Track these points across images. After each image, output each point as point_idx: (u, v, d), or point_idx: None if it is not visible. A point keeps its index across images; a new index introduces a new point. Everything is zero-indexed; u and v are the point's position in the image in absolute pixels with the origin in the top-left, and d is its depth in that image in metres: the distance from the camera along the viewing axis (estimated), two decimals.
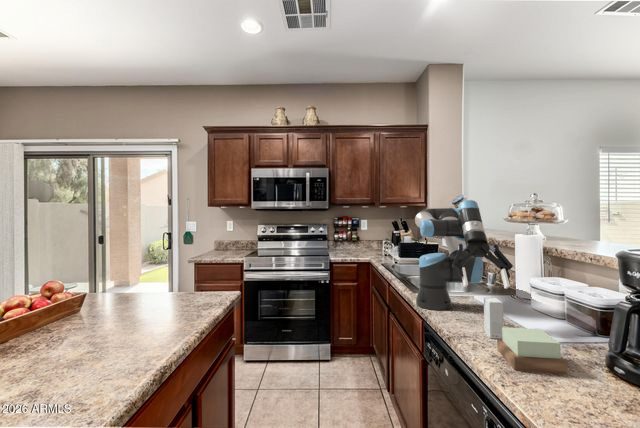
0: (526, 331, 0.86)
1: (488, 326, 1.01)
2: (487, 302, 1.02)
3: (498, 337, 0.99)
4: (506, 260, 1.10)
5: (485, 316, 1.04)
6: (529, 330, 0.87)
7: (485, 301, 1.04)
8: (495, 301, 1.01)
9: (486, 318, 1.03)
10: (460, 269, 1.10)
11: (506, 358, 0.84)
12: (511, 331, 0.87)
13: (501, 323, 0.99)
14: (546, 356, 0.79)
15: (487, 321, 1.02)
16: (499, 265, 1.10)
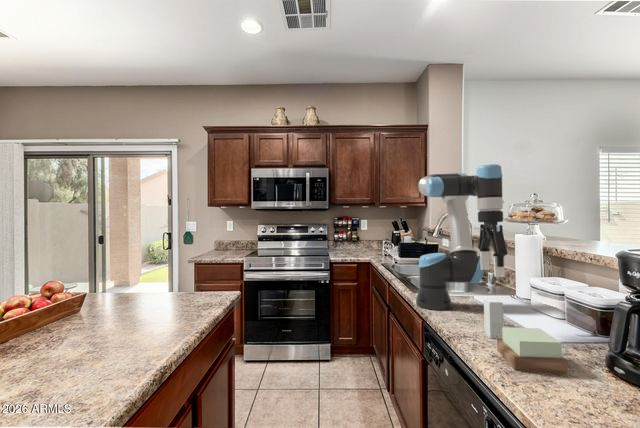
0: (526, 330, 0.86)
1: (488, 326, 1.01)
2: (487, 302, 1.02)
3: (498, 337, 0.99)
4: None
5: (485, 316, 1.04)
6: (529, 330, 0.87)
7: (485, 301, 1.04)
8: (495, 301, 1.01)
9: (486, 318, 1.03)
10: None
11: (506, 357, 0.84)
12: (512, 331, 0.86)
13: (501, 323, 0.99)
14: (547, 356, 0.78)
15: (487, 321, 1.02)
16: (486, 247, 1.09)
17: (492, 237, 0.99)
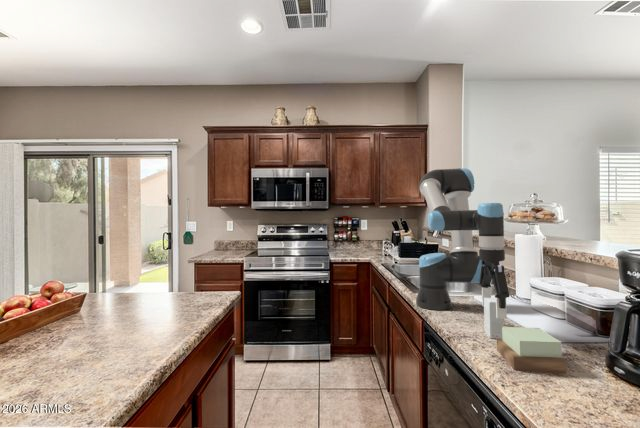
0: (526, 330, 0.87)
1: (488, 326, 1.01)
2: (487, 302, 1.02)
3: (498, 337, 0.99)
4: None
5: (485, 316, 1.04)
6: (529, 329, 0.87)
7: (485, 301, 1.04)
8: (495, 301, 1.01)
9: (486, 318, 1.03)
10: None
11: (505, 357, 0.85)
12: (512, 330, 0.87)
13: (501, 323, 0.99)
14: (547, 355, 0.79)
15: (487, 321, 1.02)
16: (487, 283, 1.08)
17: (494, 277, 0.98)
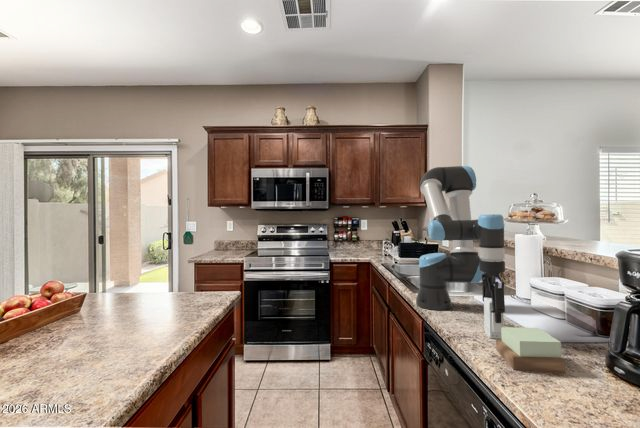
0: (525, 330, 0.87)
1: (488, 326, 1.01)
2: (487, 302, 1.02)
3: (498, 337, 0.99)
4: None
5: (485, 316, 1.04)
6: (528, 329, 0.87)
7: (485, 301, 1.04)
8: None
9: (486, 318, 1.03)
10: None
11: (505, 357, 0.85)
12: (511, 331, 0.87)
13: None
14: (547, 355, 0.79)
15: (487, 321, 1.02)
16: None
17: (493, 290, 1.00)
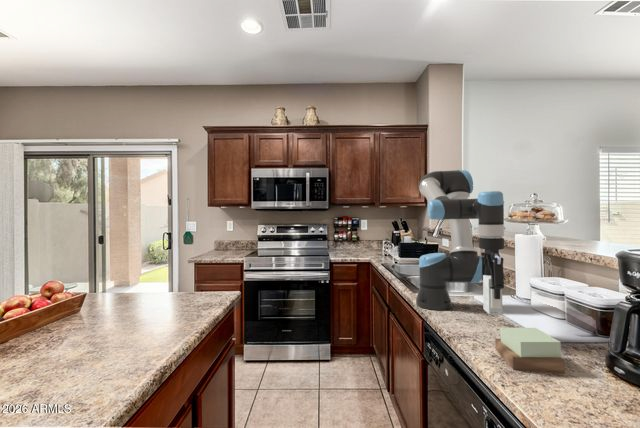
0: (524, 330, 0.87)
1: (487, 303, 1.02)
2: (486, 279, 1.02)
3: (497, 313, 1.00)
4: None
5: (484, 293, 1.04)
6: (526, 329, 0.87)
7: (484, 278, 1.04)
8: None
9: (485, 295, 1.04)
10: None
11: (504, 358, 0.85)
12: (510, 331, 0.86)
13: None
14: (547, 355, 0.79)
15: (486, 297, 1.02)
16: None
17: (492, 267, 1.00)
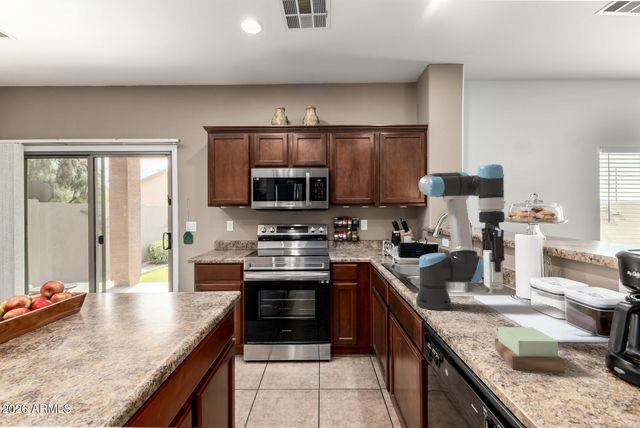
0: (522, 330, 0.87)
1: (488, 277, 1.01)
2: (487, 253, 1.01)
3: (498, 287, 0.99)
4: None
5: (485, 268, 1.04)
6: (524, 329, 0.88)
7: (485, 253, 1.03)
8: None
9: (485, 270, 1.03)
10: None
11: (504, 357, 0.85)
12: (508, 330, 0.87)
13: None
14: (545, 354, 0.79)
15: (487, 272, 1.01)
16: None
17: (492, 240, 0.99)
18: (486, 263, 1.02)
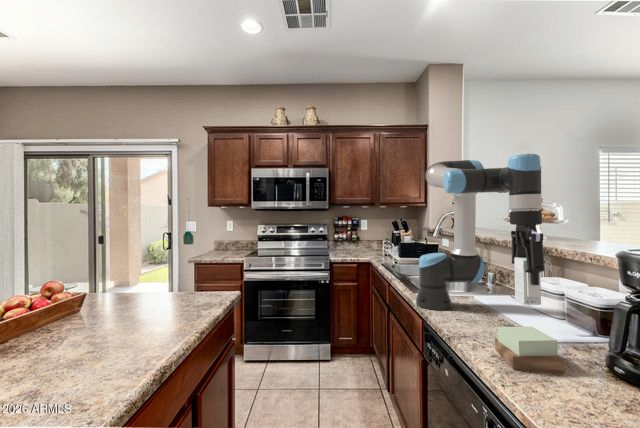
0: (521, 329, 0.87)
1: (521, 290, 0.83)
2: (520, 261, 0.84)
3: (534, 303, 0.81)
4: None
5: (516, 279, 0.86)
6: (523, 328, 0.88)
7: (516, 261, 0.86)
8: None
9: (518, 282, 0.85)
10: None
11: (504, 357, 0.85)
12: (508, 330, 0.87)
13: None
14: (544, 354, 0.80)
15: (520, 284, 0.84)
16: None
17: (527, 246, 0.82)
18: (519, 273, 0.84)
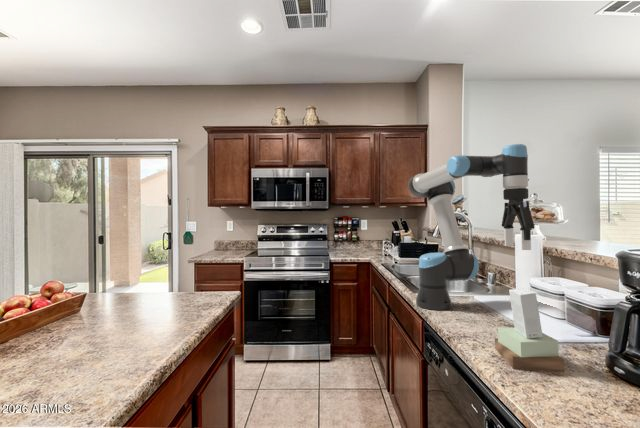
0: None
1: (522, 324, 0.83)
2: (516, 295, 0.83)
3: (536, 336, 0.81)
4: None
5: (514, 312, 0.86)
6: None
7: (512, 294, 0.86)
8: (526, 292, 0.83)
9: (516, 315, 0.85)
10: None
11: (504, 357, 0.85)
12: (508, 331, 0.87)
13: (537, 318, 0.81)
14: (546, 354, 0.80)
15: (520, 317, 0.83)
16: (510, 224, 1.14)
17: (518, 213, 1.04)
18: (517, 307, 0.84)
